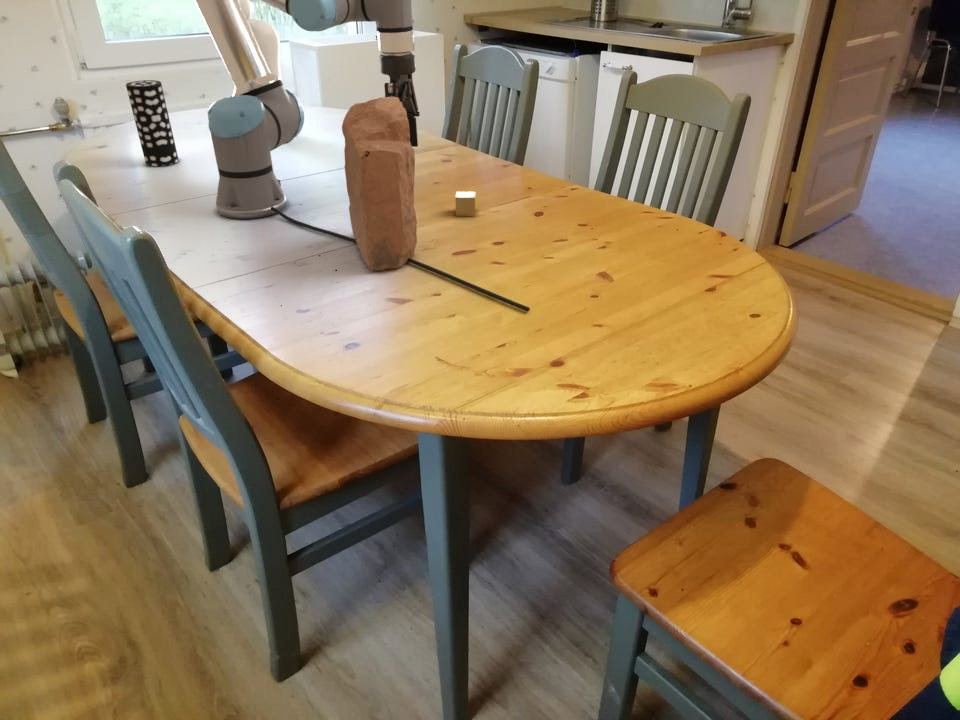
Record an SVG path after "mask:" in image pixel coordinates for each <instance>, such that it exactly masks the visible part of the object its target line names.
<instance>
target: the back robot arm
mask: <svg viewBox="0 0 960 720" xmlns="http://www.w3.org/2000/svg"><path fill="white" fill-rule="evenodd" d="M238 1H239V3H240V5H241V8H242V10H243V12H244V14H245V17H246V19H247V21H248V23H249V26H250V28H251V30H252V32H253V35H254V37H255V39H256V41H257V44H258V46H259V48H260V50H261V53H262V55H263V57H264V59H265V61H266V64H267V66H268V68H269V70H270V72H271V73H272V74H273V75H275V76H277V77H279V78H280V79H281V81H282V82H283V80H282V73H281V61H280V60H281V59H280V58H281V55H280V54H281V43H280V36H279V34H278V32H277V30H276V29H275V28H274V27H273V26H272V25H271V24H270V23H268V22H266V21H263V20H259V19H254V18H251V17H252V14H253V5H252V3H251V1H250V0H238Z"/></svg>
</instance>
